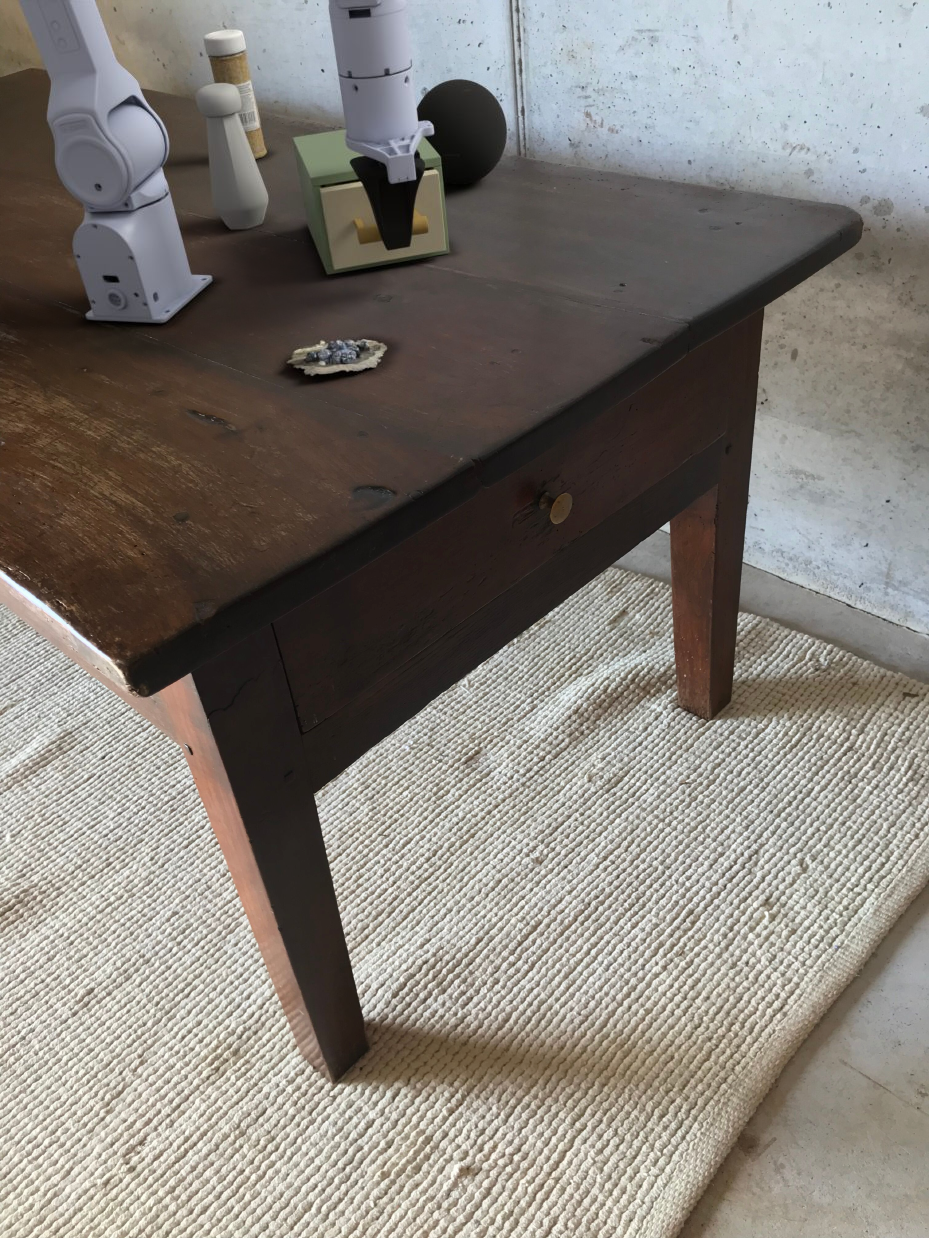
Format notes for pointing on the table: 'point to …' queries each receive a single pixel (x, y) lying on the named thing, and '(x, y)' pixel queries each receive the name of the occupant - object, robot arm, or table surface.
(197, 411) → the table surface
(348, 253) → the drawer
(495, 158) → the black sphere
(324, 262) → the cabinet
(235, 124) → the salt shaker
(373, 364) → the blueberries
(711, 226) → the table surface
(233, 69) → the sprinkles bottle
